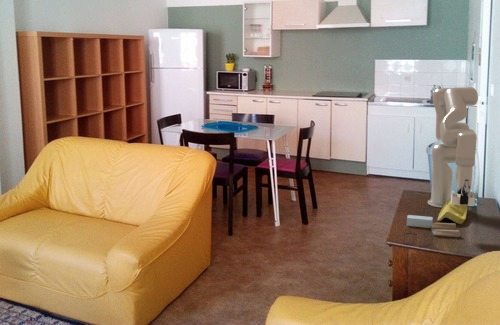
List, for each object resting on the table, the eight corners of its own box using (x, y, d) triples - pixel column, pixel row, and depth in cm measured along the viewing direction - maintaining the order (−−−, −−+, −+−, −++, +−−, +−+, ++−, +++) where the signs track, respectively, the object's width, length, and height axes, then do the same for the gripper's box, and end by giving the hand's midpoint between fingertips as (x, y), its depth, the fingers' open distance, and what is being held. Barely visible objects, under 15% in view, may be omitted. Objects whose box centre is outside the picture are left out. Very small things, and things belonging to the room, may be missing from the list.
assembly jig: (430, 227, 232) (430, 222, 232) (456, 229, 230) (456, 223, 229) (433, 235, 223) (433, 230, 222) (460, 237, 220) (460, 231, 220)
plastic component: (465, 220, 234) (444, 209, 237) (456, 233, 237) (436, 222, 240) (468, 205, 251) (449, 195, 254) (460, 217, 254) (441, 206, 257)
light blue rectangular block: (407, 223, 240) (407, 214, 239) (432, 225, 236) (432, 217, 235) (406, 226, 236) (407, 217, 235) (431, 228, 232) (432, 220, 231)
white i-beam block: (450, 201, 225) (451, 190, 224) (472, 202, 223) (473, 191, 222) (451, 204, 221) (452, 193, 220) (474, 205, 218) (475, 194, 217)
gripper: (451, 156, 227) (449, 196, 231) (460, 165, 210) (457, 208, 214) (469, 157, 225) (466, 196, 229) (479, 166, 209) (476, 208, 213)
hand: (462, 201), depth 222 cm, fingers closed on white i-beam block, 5 cm apart
